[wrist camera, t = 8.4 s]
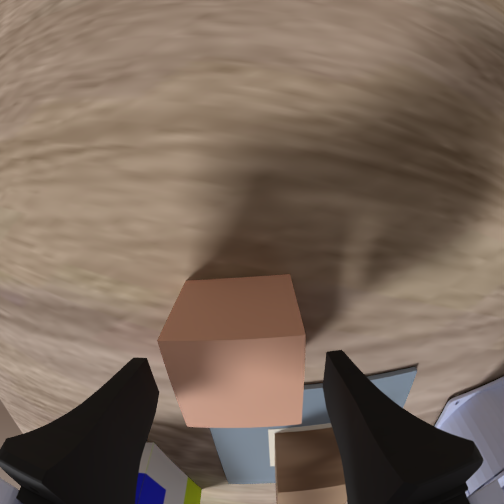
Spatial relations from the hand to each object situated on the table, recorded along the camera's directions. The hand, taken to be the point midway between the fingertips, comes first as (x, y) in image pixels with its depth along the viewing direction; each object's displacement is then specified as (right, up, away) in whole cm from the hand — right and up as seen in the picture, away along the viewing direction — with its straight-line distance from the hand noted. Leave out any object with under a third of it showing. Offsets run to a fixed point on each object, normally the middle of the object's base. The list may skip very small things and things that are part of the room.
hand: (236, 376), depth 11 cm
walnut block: (+5, -10, +7) cm, 13 cm away
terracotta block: (0, +1, +4) cm, 4 cm away
